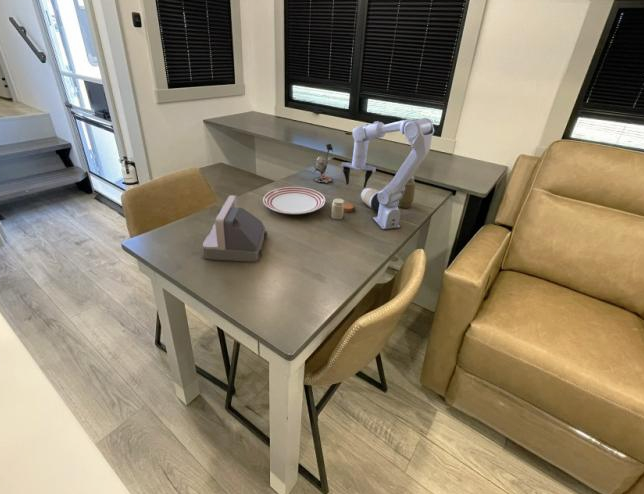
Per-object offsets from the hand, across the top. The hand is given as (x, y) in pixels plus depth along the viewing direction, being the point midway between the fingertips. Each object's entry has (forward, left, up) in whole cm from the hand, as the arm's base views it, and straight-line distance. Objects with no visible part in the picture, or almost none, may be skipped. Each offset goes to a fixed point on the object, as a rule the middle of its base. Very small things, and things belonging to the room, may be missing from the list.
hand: (356, 185), depth 144 cm
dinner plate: (+6, +26, -11) cm, 29 cm away
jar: (-8, +11, -10) cm, 17 cm away
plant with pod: (+32, +5, -11) cm, 34 cm away
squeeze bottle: (-3, -24, -11) cm, 26 cm away
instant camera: (-21, +53, -11) cm, 58 cm away
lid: (-2, +4, -9) cm, 10 cm away
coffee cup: (+3, -8, -7) cm, 11 cm away
